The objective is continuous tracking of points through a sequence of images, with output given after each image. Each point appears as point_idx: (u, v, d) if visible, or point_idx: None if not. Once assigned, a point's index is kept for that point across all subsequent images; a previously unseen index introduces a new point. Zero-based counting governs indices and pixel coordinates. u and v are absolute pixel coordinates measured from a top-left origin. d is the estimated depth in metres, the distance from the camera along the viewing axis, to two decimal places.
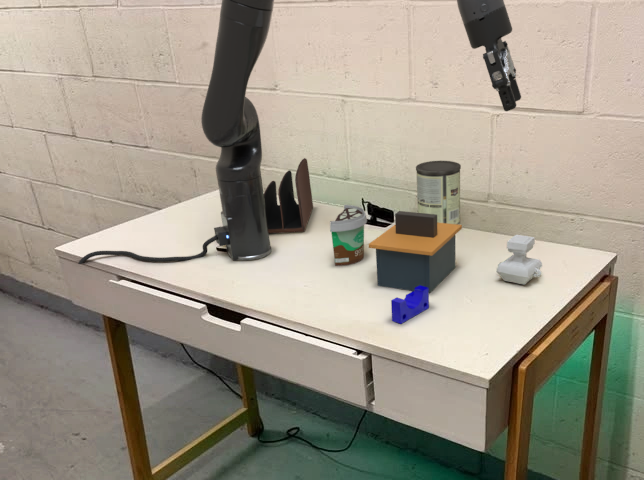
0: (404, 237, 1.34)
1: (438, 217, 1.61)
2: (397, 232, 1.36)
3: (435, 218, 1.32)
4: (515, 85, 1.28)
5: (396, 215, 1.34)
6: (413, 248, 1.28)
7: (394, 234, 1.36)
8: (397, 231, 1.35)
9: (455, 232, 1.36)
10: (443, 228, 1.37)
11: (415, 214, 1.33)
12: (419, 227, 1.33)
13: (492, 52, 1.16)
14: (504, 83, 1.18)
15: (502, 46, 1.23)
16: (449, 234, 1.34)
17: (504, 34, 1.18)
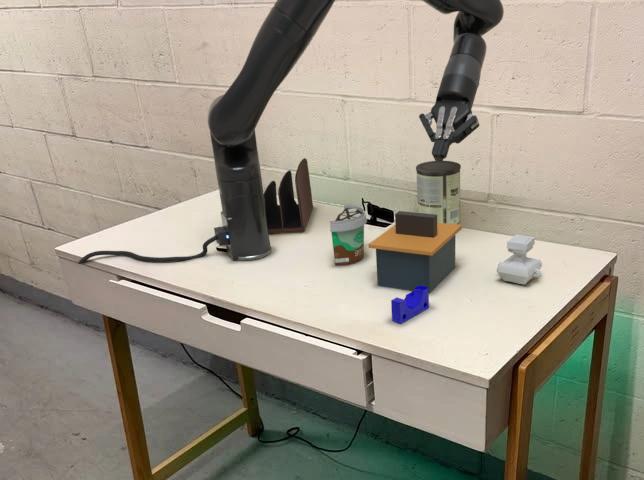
0: (404, 237, 1.34)
1: (438, 217, 1.61)
2: (397, 232, 1.36)
3: (435, 218, 1.32)
4: None
5: (396, 215, 1.34)
6: (413, 248, 1.28)
7: (394, 234, 1.36)
8: (397, 231, 1.35)
9: (455, 232, 1.36)
10: (443, 228, 1.37)
11: (415, 214, 1.33)
12: (419, 227, 1.33)
13: (478, 123, 1.38)
14: (457, 142, 1.39)
15: None
16: (449, 234, 1.34)
17: None
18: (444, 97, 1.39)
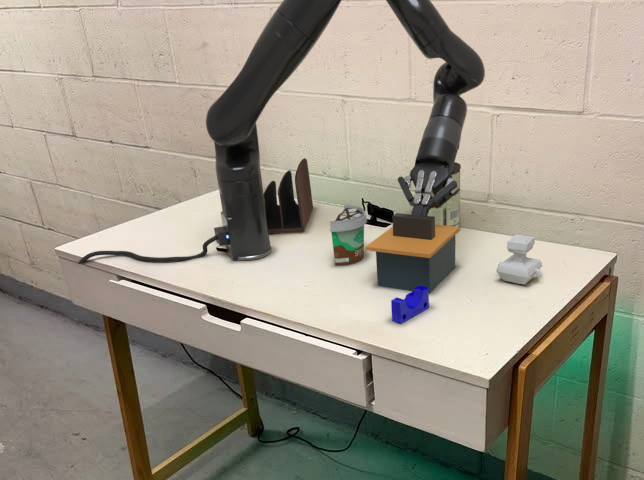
0: (401, 239, 1.33)
1: (438, 217, 1.61)
2: (394, 234, 1.35)
3: (433, 220, 1.31)
4: None
5: (393, 217, 1.33)
6: (411, 250, 1.27)
7: (391, 236, 1.35)
8: (394, 233, 1.34)
9: (453, 234, 1.35)
10: (441, 230, 1.36)
11: (413, 216, 1.32)
12: (416, 229, 1.32)
13: (457, 188, 1.34)
14: (436, 207, 1.35)
15: None
16: (447, 236, 1.33)
17: None
18: (423, 160, 1.36)
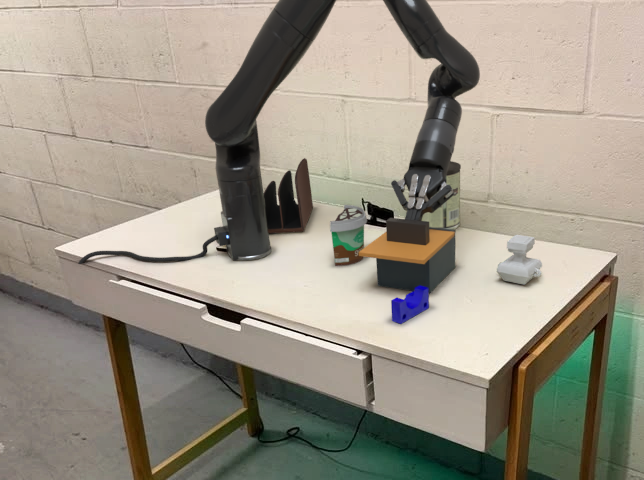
0: (395, 245, 1.30)
1: (438, 217, 1.61)
2: (388, 239, 1.32)
3: (427, 225, 1.28)
4: None
5: (387, 222, 1.30)
6: (404, 256, 1.25)
7: (385, 241, 1.32)
8: (388, 238, 1.32)
9: (448, 239, 1.33)
10: (435, 235, 1.34)
11: (406, 221, 1.29)
12: (410, 234, 1.30)
13: (452, 193, 1.32)
14: (430, 211, 1.33)
15: None
16: (441, 241, 1.31)
17: None
18: (417, 164, 1.33)
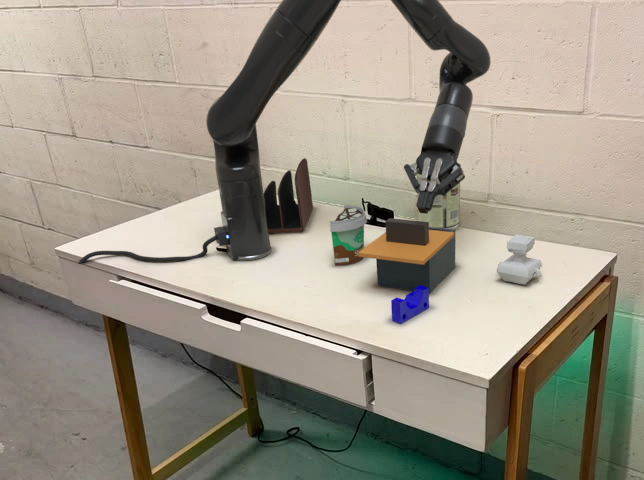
0: (394, 245, 1.30)
1: (438, 217, 1.61)
2: (388, 240, 1.32)
3: (426, 226, 1.28)
4: None
5: (386, 222, 1.30)
6: (404, 257, 1.25)
7: (384, 241, 1.32)
8: (388, 239, 1.32)
9: (447, 240, 1.32)
10: (435, 236, 1.34)
11: (406, 221, 1.29)
12: (410, 235, 1.29)
13: (463, 175, 1.36)
14: (442, 194, 1.36)
15: None
16: (441, 242, 1.30)
17: None
18: (429, 148, 1.37)
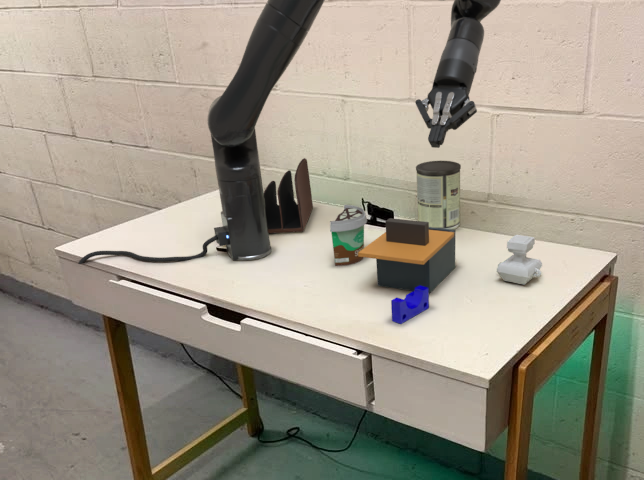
0: (394, 245, 1.30)
1: (438, 217, 1.61)
2: (388, 240, 1.32)
3: (426, 226, 1.28)
4: None
5: (386, 222, 1.30)
6: (404, 257, 1.25)
7: (384, 241, 1.32)
8: (388, 239, 1.32)
9: (447, 240, 1.32)
10: (435, 236, 1.34)
11: (406, 221, 1.29)
12: (410, 235, 1.29)
13: (475, 109, 1.35)
14: (454, 128, 1.36)
15: None
16: (441, 242, 1.30)
17: None
18: (441, 82, 1.37)
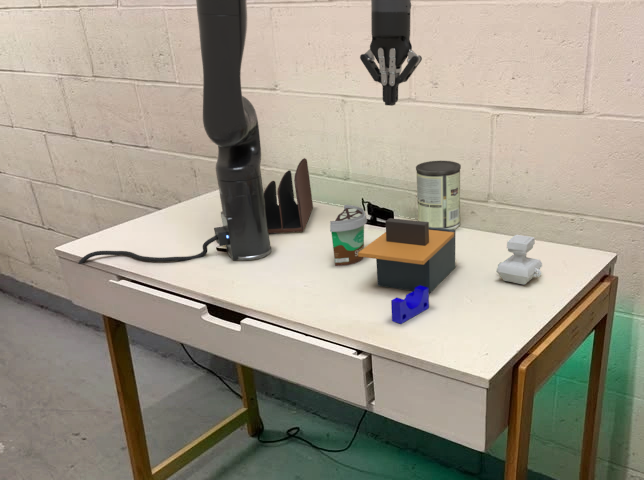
0: (394, 245, 1.30)
1: (438, 217, 1.61)
2: (388, 240, 1.32)
3: (426, 226, 1.28)
4: None
5: (386, 222, 1.30)
6: (404, 257, 1.25)
7: (384, 241, 1.32)
8: (388, 239, 1.32)
9: (447, 240, 1.32)
10: (435, 236, 1.34)
11: (406, 221, 1.29)
12: (410, 235, 1.29)
13: (420, 59, 1.35)
14: (404, 81, 1.39)
15: None
16: (441, 242, 1.30)
17: None
18: None
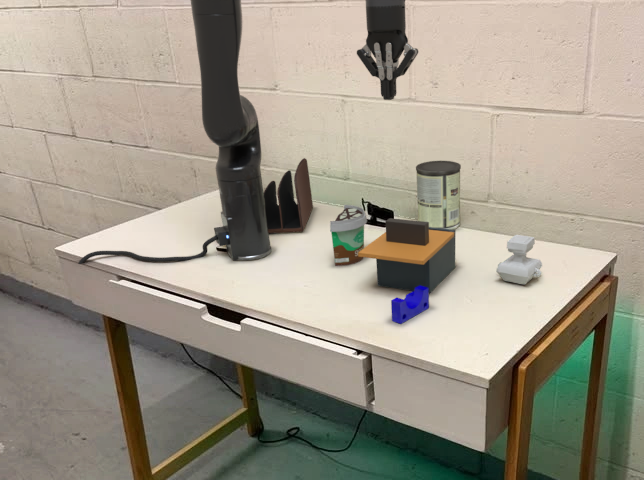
0: (394, 245, 1.30)
1: (438, 217, 1.61)
2: (388, 240, 1.32)
3: (426, 226, 1.28)
4: None
5: (386, 222, 1.30)
6: (404, 257, 1.25)
7: (384, 241, 1.32)
8: (388, 239, 1.32)
9: (447, 240, 1.32)
10: (435, 236, 1.34)
11: (406, 221, 1.29)
12: (410, 235, 1.29)
13: (416, 52, 1.35)
14: None
15: None
16: (441, 242, 1.30)
17: None
18: None
